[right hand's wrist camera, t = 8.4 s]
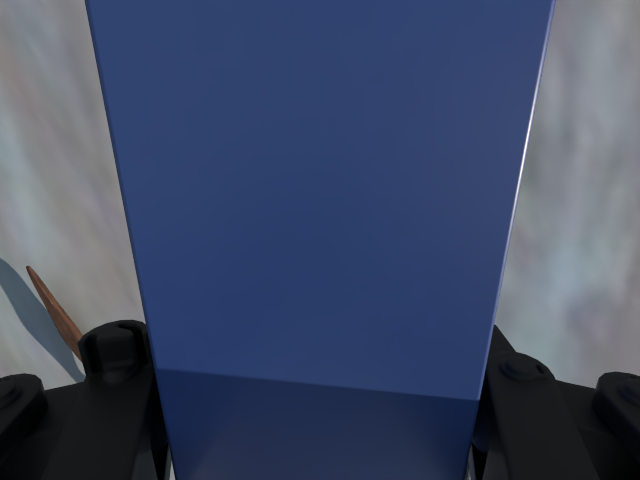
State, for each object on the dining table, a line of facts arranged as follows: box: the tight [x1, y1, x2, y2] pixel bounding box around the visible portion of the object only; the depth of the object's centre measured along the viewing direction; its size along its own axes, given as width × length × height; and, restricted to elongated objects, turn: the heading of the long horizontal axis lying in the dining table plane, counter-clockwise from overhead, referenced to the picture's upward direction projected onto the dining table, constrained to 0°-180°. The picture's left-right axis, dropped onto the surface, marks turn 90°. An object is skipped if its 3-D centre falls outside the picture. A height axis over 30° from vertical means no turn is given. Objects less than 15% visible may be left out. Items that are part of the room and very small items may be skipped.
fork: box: [26, 266, 83, 362], centre depth 27 cm, size 3×16×2 cm, turn 16°
